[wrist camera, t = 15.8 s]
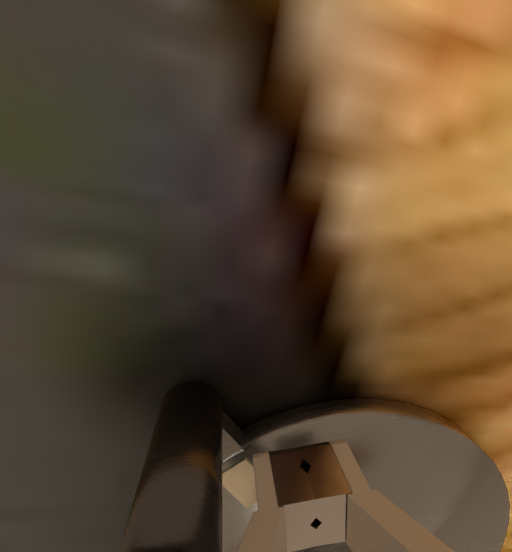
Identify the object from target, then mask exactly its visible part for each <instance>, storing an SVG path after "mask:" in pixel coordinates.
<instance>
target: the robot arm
mask: <svg viewBox="0 0 512 552" xmlns="http://www.w3.org/2000/svg"><path fill="white" fill-rule="evenodd" d="M252 458H253V469H254V478H255V487H256V496H257V505H258V511H256V512H253V514H252V517H251V519H250V521H249V524H248V526H247V529H246V531H245V534H244V536H243V538H242V541H241V543H240V546H239V548H238V550H237V552H294V551H298V550H302V549H306V548H311V547H315V546H321V545H327V544H333V543H339V542H345V541H346V544H347V545H348V546H349V547H350V548H351V550H352V551H353V552H454V551H453V550H452V549H451V548H449V547H448V546H447V545H446V544H444V543H443V542H442V541H441V540H439V539H438V538H437V537H435V536H434V535H433V534H432V533H430V532H429V531H428V530H427V529H425V528H424V527H423V526H422V525H420V524H419V523H418V522H416V521H415V520H414V519H413V518H411V517H410V516H409V515H408V514H406V513H405V512H404V511H403V510H401V509H400V508H399V507H398V506H396V505H395V504H394V503H392V502H391V501H390V500H389V499H387V498H386V497H385V496H384V495H382V494H381V493H380V492H379V491H377V490H371V489H370V487H369V485H368V483H367V481H366V479H365V477H364V475H363V473H362V471H361V469H360V467H359V465H358V463H357V461H356V459H355V457H354V455H353V453H352V451H351V449H350V447H349V445H348V443H347V442H346V441H345V440H344V439H342V440H336V441H330V442H322V443H317V444H311V445H306V446H300V447H298V448H291V449H284V450H276V451H269V452H263V453H256V454H252Z"/></svg>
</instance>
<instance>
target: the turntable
mask: <svg viewBox="0 0 512 552" xmlns="http://www.w3.org/2000/svg"><path fill="white" fill-rule="evenodd" d="M342 439H344V440H345V441H346V442H347V443H348V445H349V447H350V449H351V451H352V453H353V455H354V457H355V459H356V461H357V463H358V465H359V467H360V469H361V471H362V473H363V475H364V477H365V479H366V481H367V483H368V485H369V487H370V489H371V490H377V491H379V492H380V493H381V494H382V495H384V496H385V497H386V498H387V499H389V500H390V501H391V502H392V503H394V504H395V505H396V506H398V507H399V508H400V509H401V510H403V511H404V512H405V513H406V514H408V515H409V516H410V517H411V518H413V519H414V520H415V521H416V522H418V523H419V524H420V525H422V526H423V527H424V528H425V529H427V530H428V531H429V532H430V533H432V534H433V535H434V536H435V537H437V538H438V539H439V540H441V541H442V542H443V543H444V544H446V545H447V546H448V547H449V548H451V549H452V550H453V551H454V552H500V550H501V548H502V545H503V542H504V540H505V537H506V533H507V528H508V524H509V510H510V504H509V498H508V491H507V488H506V485H505V482H504V480H503V477H502V475H501V473H500V472H499V470H498V468H497V467H496V465H495V464H494V462H493V461H492V460H491V459H490V458H489V457H488V456H487V455H486V454H485V453H484V452H483V451H482V450H481V449H480V448H479V447H478V446H477V445H476V444H475V443H474V442H473V441H472V440H471V439H470V438H469V437H468V436H467V435H466V434H465V433H464V432H463V431H462V430H461V429H460V428H459V427H458V426H456V425H455V424H453V423H452V422H450V421H449V420H447V419H446V418H445V417H442V416H440V415H438V414H436V413H434V412H432V411H430V410H428V409H425V408H422V407H418V406H415V405H411V404H408V403H405V402H398V401H391V400H385V399H365V398H353V399H342V400H330V401H325V402H320V403H315V404H310V405H305V406H301V407H297V408H294V409H291V410H288V411H284V412H281V413H278V414H275V415H273V416H270V417H268V418H266V419H263V420H261V421H259V422H256V423H254V424H252V425H249V426H248V427H246V428H244V429H242V430H241V429H240V428H239V427H238V426H237V425H236V424H235V423H234V422H233V421H232V419H231V418H230V417H229V416H228V415H227V414H226V413H225V412H224V411H223V410H222V400H221V398H220V396H219V394H218V393H217V392H216V391H215V390H214V389H212V388H211V387H209V386H207V385H205V384H201V383H185V384H181V385H178V386H176V387H174V388H173V389H171V390H170V391H169V392H168V393H167V394H166V395H165V397H164V399H163V401H162V404H161V408H160V411H159V415H158V418H157V421H156V425H155V428H154V432H153V435H152V439H151V442H150V446H149V449H148V453H147V456H146V460H145V463H144V467H143V470H142V474H141V477H140V481H139V484H138V487H137V491H136V494H135V498H134V501H133V505H132V508H131V512H130V515H129V519H128V522H127V526H126V529H125V533H124V536H123V540H122V543H121V546H120V550H119V552H237V550H238V548H239V546H240V543H241V541H242V538H243V536H244V534H245V531H246V529H247V526H248V524H249V521H250V519H251V517H252V514H253V512H256V511H258V505H257V496H256V487H255V478H254V469H253V458H252V454H256V453H263V452H269V451H276V450H284V449H291V448H298V447H300V446H306V445H311V444H317V443H322V442H330V441H336V440H342Z"/></svg>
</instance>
